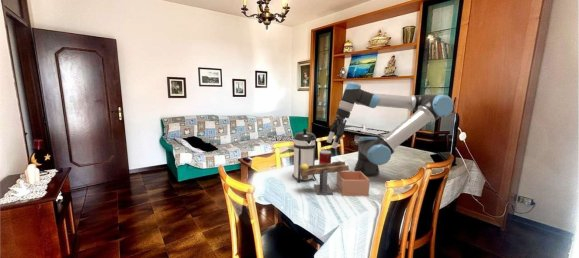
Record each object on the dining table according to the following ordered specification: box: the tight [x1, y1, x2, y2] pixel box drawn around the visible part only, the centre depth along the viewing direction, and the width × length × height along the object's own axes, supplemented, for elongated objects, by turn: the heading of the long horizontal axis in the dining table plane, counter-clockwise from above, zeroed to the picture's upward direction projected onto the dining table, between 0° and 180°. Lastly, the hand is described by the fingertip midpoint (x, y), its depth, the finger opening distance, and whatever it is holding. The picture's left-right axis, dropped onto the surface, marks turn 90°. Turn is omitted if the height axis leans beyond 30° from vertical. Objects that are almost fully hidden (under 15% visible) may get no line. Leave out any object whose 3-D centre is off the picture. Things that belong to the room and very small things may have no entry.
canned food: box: [318, 149, 332, 165], centre depth 161 cm, size 8×8×11 cm
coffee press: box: [291, 127, 317, 183], centre depth 139 cm, size 17×16×30 cm
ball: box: [301, 164, 309, 171], centre depth 122 cm, size 4×4×4 cm
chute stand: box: [313, 170, 334, 196], centre depth 123 cm, size 8×11×13 cm
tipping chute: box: [299, 160, 350, 180], centre depth 125 cm, size 24×13×6 cm, turn 92°
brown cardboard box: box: [335, 170, 371, 197], centre depth 124 cm, size 13×13×8 cm
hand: (331, 145), depth 136 cm, fingers open, 13 cm apart
